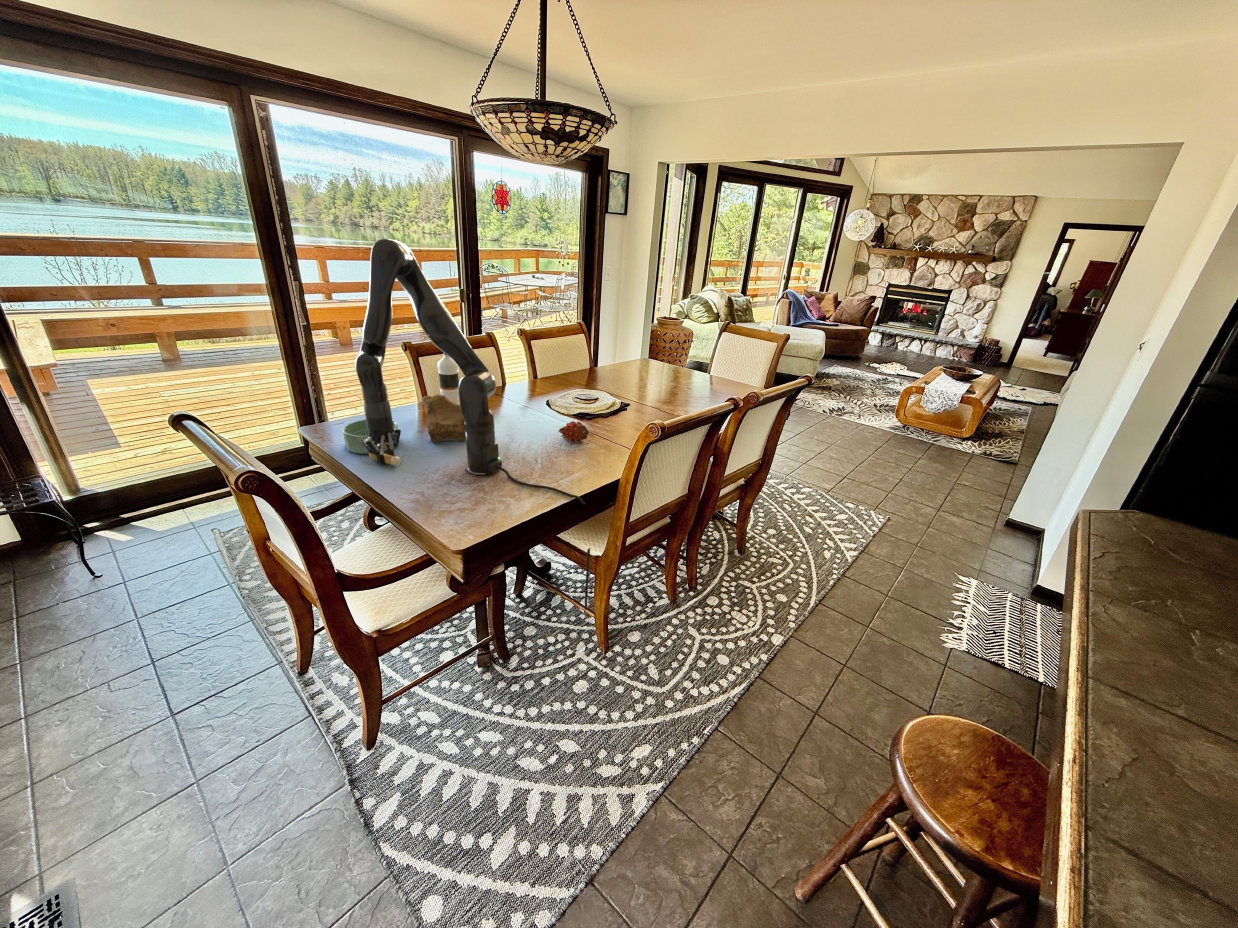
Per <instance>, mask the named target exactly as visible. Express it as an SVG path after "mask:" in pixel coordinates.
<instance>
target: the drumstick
mask: <svg viewBox="0 0 1238 928" xmlns="http://www.w3.org/2000/svg"><path fill="white" fill-rule="evenodd" d="M383 454H384V461H385V464H387V465H391V466H393V467H398V466H400V465H401V463H402V458H400V456H398V455H397V456H396V455H394V456H392V455H388V454H387V453H386V452H385V451H383ZM368 455H369V458H370V459H371V460H372V461H377V457H376V455H373V454H370V453H369V454H368Z"/></svg>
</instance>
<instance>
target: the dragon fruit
mask: <svg viewBox="0 0 1238 928" xmlns="http://www.w3.org/2000/svg"><path fill="white" fill-rule="evenodd" d="M558 433H560V434H561V435H560V436H561V437H562V439H564V440H565V439H567V440H568V441H570V443H571V444H572V443H575V441H576V443H580V442H581V441H584V440H586V439H588V435H589V430H588V428H587V426H585V425H584V424H583V423H582V422H581V421H569V422H567V423H566V425H564V426H562V427H561V428H559V429H558Z"/></svg>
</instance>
